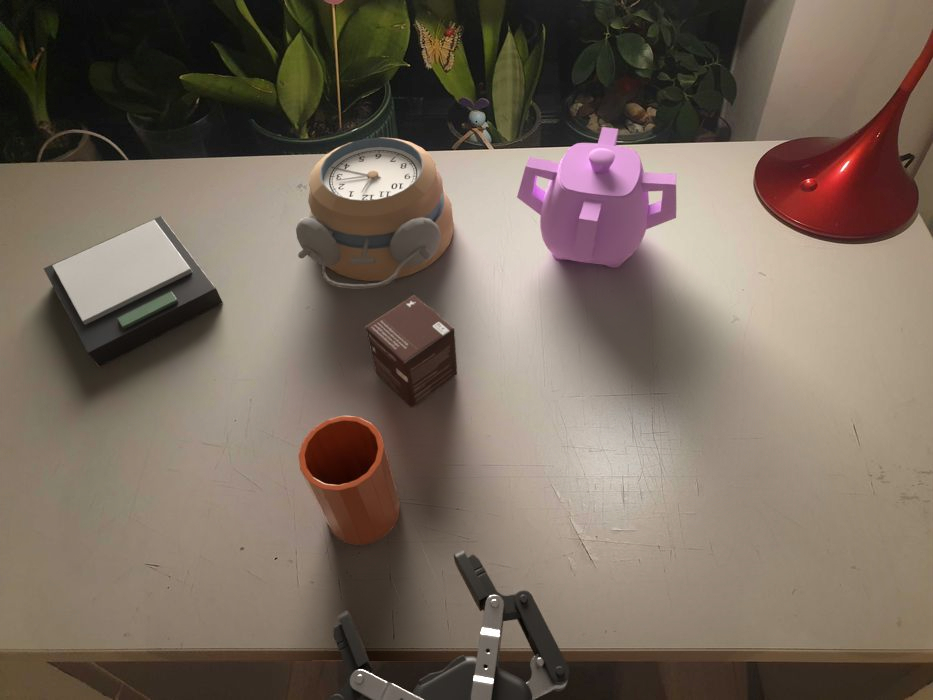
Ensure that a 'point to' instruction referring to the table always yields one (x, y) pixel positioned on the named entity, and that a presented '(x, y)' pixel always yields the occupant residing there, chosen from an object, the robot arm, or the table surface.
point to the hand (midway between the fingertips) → (402, 585)
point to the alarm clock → (376, 212)
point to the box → (413, 350)
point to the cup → (351, 479)
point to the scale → (131, 289)
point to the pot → (597, 201)
